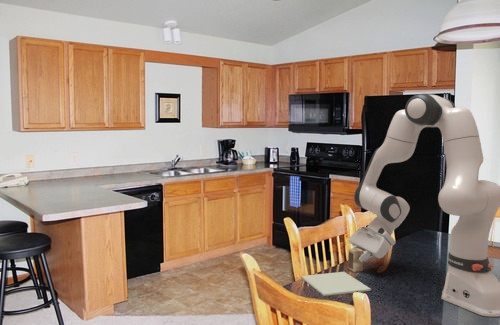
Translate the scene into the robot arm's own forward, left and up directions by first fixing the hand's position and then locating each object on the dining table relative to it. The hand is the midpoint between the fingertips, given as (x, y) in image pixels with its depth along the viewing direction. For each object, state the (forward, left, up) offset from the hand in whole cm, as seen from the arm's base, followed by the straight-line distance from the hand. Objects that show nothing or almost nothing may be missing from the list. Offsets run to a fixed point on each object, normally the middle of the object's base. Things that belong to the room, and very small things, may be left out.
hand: (355, 258), depth 170 cm
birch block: (0, 0, -5) cm, 5 cm away
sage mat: (-11, +15, -5) cm, 19 cm away
